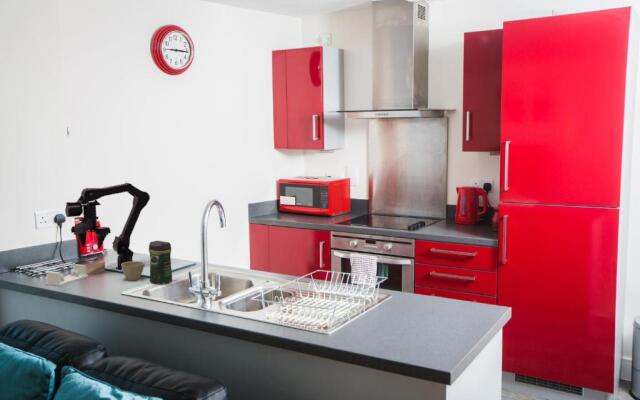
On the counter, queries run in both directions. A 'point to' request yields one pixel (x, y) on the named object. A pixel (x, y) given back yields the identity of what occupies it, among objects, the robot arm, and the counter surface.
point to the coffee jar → (160, 262)
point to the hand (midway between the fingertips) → (91, 248)
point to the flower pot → (132, 269)
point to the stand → (61, 280)
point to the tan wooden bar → (95, 267)
